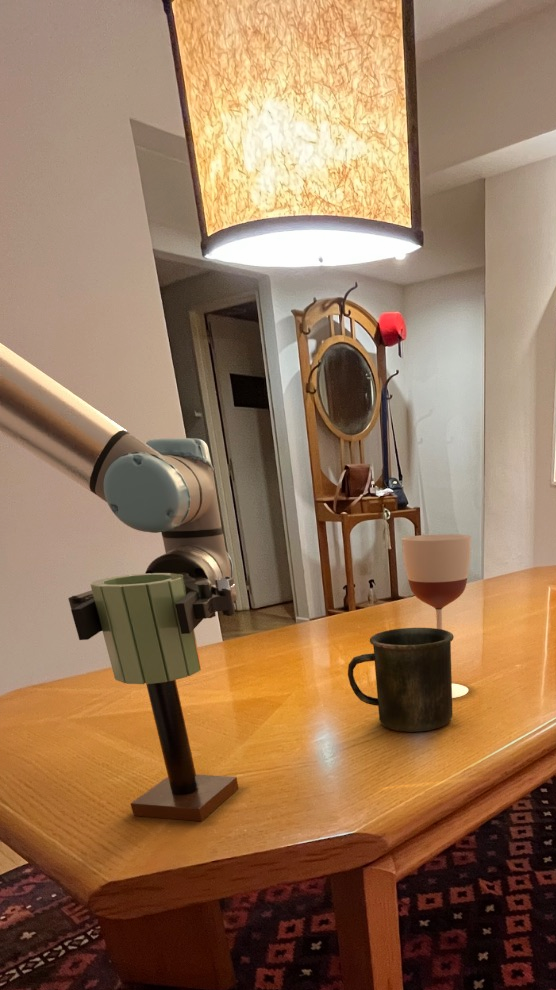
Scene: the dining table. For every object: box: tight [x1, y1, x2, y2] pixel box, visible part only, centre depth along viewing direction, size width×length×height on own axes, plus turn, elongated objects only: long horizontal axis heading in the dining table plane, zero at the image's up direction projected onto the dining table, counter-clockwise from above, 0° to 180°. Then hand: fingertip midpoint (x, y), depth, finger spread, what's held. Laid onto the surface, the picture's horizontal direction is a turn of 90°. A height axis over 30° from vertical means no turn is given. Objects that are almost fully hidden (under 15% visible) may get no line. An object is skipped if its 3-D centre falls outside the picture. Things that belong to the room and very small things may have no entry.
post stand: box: [130, 680, 239, 822], centre depth 70 cm, size 8×8×18 cm
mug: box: [347, 627, 455, 733], centre depth 92 cm, size 11×15×12 cm
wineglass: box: [401, 533, 472, 699], centre depth 103 cm, size 9×10×23 cm
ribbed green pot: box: [90, 573, 202, 685], centre depth 65 cm, size 8×8×9 cm
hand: (131, 621), depth 61 cm, fingers closed on ribbed green pot, 8 cm apart
